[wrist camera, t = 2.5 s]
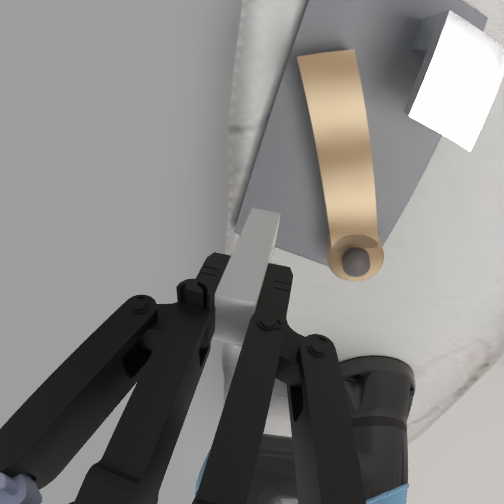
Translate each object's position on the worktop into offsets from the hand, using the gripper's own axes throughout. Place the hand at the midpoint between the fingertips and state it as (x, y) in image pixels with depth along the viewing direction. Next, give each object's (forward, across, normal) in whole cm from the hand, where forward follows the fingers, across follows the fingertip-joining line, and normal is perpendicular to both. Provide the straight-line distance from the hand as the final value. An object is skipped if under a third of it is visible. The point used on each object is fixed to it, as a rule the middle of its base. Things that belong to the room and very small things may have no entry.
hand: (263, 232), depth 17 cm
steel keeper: (+13, +10, +10) cm, 20 cm away
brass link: (+11, +5, +1) cm, 12 cm away
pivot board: (+13, +5, +5) cm, 15 cm away
